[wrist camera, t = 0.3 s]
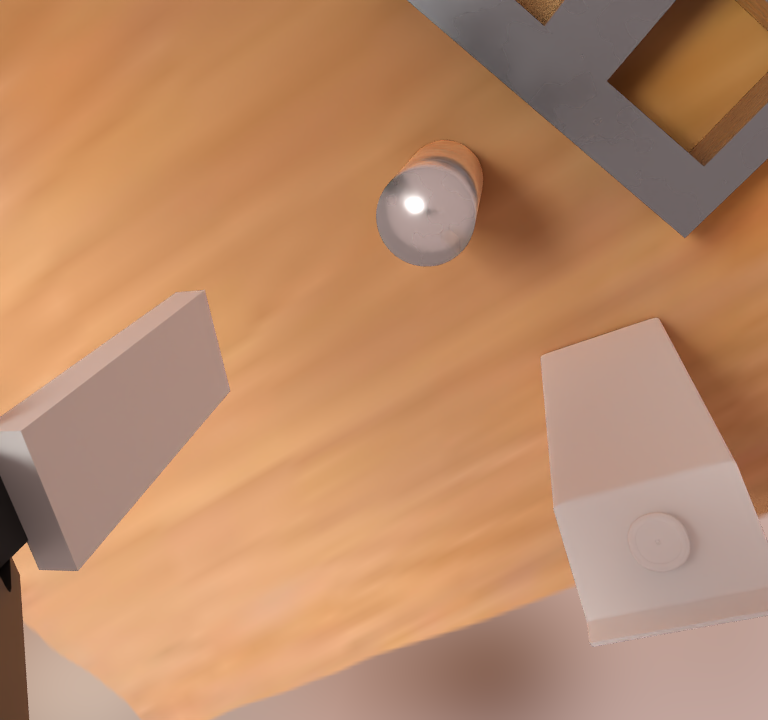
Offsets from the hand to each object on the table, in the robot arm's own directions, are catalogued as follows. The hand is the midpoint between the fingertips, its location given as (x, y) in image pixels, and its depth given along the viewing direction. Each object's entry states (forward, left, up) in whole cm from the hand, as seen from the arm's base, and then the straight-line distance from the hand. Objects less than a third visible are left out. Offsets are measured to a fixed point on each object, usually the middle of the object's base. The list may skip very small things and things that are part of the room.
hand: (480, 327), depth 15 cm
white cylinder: (-2, -3, -24) cm, 24 cm away
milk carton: (+14, -6, -24) cm, 29 cm away
